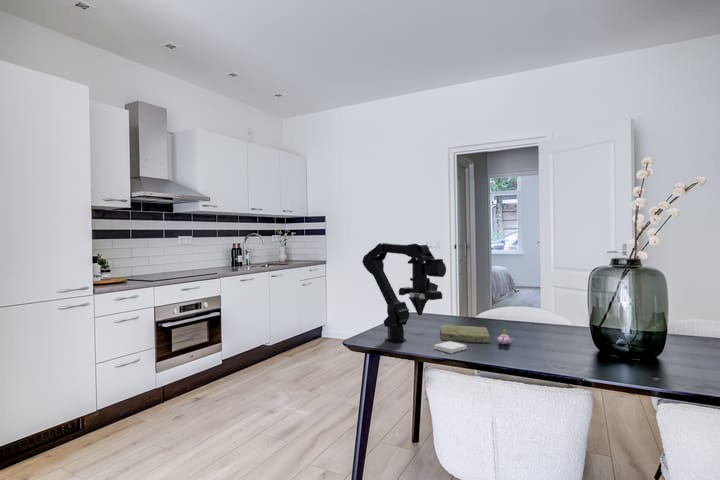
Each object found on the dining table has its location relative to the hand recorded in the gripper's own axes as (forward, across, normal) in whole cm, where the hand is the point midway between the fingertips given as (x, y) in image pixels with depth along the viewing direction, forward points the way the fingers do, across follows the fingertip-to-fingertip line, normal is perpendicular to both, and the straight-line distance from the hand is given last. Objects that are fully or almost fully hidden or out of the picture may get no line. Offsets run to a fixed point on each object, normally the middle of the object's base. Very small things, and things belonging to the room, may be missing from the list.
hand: (419, 315), depth 161 cm
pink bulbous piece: (+12, -18, -29) cm, 36 cm away
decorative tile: (+13, -1, -26) cm, 29 cm away
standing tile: (+11, -6, -6) cm, 14 cm away
